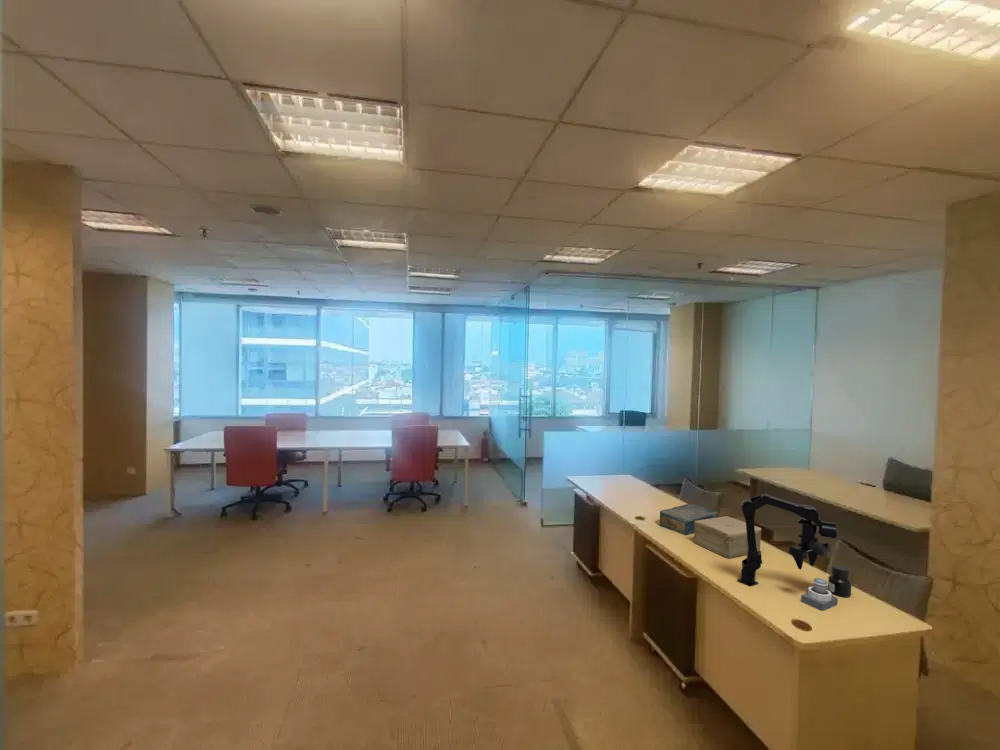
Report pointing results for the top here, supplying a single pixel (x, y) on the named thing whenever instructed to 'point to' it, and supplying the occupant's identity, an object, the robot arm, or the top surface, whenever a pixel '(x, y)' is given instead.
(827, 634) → the top surface
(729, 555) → the paper package
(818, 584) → the lens
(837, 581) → the ink bottle
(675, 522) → the metal box
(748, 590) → the top surface
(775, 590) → the top surface
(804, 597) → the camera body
